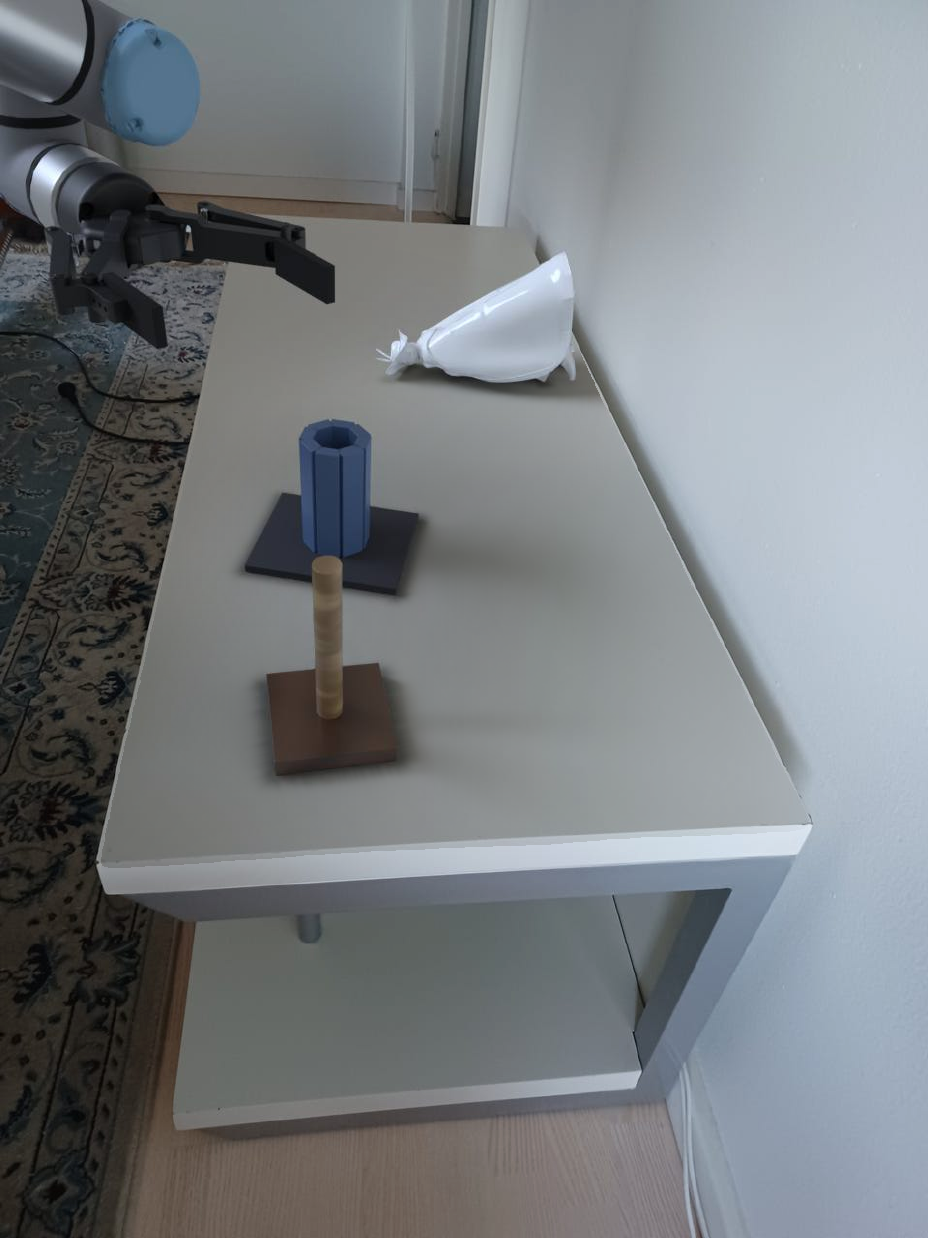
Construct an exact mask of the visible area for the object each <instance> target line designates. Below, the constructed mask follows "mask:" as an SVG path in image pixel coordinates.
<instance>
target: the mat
mask: <svg viewBox="0 0 928 1238" xmlns="http://www.w3.org/2000/svg"><path fill="white" fill-rule="evenodd" d="M419 517H420V513H419V512H411V511H405V510H398V509H392V508H386V507H379V506H372V505H370V533H369V539H368V541H367V544H366V547H365V549H362V551H361V552H358V553H355V554H352V555H350V556H347V557H344V558H343V557H342V556H341V555H340V558H338V559H339V560H340V561H341V562H342V584H343V588H348V589H355V590H361V591H366V592H372V593H380V594H386V595H393V596H396V595H397V591H398V588H399V584H400V581H401V578H402V574H403V572H404V568H405V565H406V562H407V558H408V555H409V552H410V548H411V547H412V546H411V545H412V543H413V538H414V535H415V532H416V529H417V526H418V522H419V519H420V518H419ZM320 556H323V555H318V552H316V553H314V552H313V551H312V550H311V549H310V548H309V547H308V546H307V545H306V544H305V543H304V542H303V531H302V506H301V494H294V493H288V492H281V494H280V496H279V498H278V500H277V502H276V504H275V506H274V508H273V510H272V512H271V513H270V515H269V517H268V519H267V521H266V523H265V524H264V527H263V529H262V531H261V532H260V535H259V536H258V538H257V541H256V542H255V544H254V546H253V548H252V550H251V552H250V554H249V556H248V558H247V560H246V561H245V563H244V571H245V572H248V573H254V574H259V575H266V576H272V577H279V578H285V579H292V580H298V581H303V582H311V583H312V563H313V561H314V560H315V559H316V558H318V557H320Z"/></svg>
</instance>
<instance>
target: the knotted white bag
mask: <svg viewBox="0 0 928 1238" xmlns="http://www.w3.org/2000/svg"><path fill="white" fill-rule="evenodd" d="M576 291H577V290H576V287H575V283H574V279H573V275H572V270H571V267H570V263H569V259H568V254H567V253H566V252H565V251H561V252H560V253H558V254H556V255H554V256H552V257H551V258H550V259H548V260H546V261H544V262H542V263H541V264H540V265H539V266H537V267H535V268H534V269H531V270H530V271H528V272H526V273H524V274H523V275H520V276H519V277H517V278H515V279H513V280H511V281H509V282H508V283H505V284H503V285H502V286H500V287H498V288H496V289H494V290H492V291H491V292H489V293H487V294H485V295H483V296H482V297H480V298H478V299H477V300H474V301H473V302H471V303H470V304H467V305H466V306H464V307H461V308H460V309H459V310H456V311H455V312H454V313H452V314H450V315H449V316H447V317H446V318H444V319H442V320H441V321H439V322H438V323H436V324H434V325H433V326H431V327H430V328H428V329H425V330H423V331H422V332H421V335H420V336H419V337H418V339H417V341H416V342H415V341H408V336H407V335H406V334H404V333H402V332H401V330H400V329H398V334H399V340H394V341H392V342H391V345H390V346H391V347H390V355H388V354H386V353H385V352H383V351H382V350H380V349H378V348H375V351H377V352H378V353H379V354H380V355H382V356H383V357H385V358H383V357H381V358H380V357H377V358H375V360H377V361H380V362H387V363H391V364H390V366H389V367H388V368H387V369H386V371H385V374H386V375H388V376H391V375H392V376H393V375H394V374H395V373H397V372H398V371H399V370H401V369H402V368H404V367H405V366H408V365H409V366H412V365H414V364H415V363H416V364H417V363H418V362H419V361H421V363H422V365H423V367H425V368H427V369H430V368H431V369H432V368H439V369H441V370H443V371H444V373H445V374H447V375H449V376H452V377H468V378H469V377H470V378H474V379H478V380H480V381H484V382H488V383H514V382H523V381H528V380H529V381H530V380H533V379H535V380H537V381H539V382H543V383H546V381H547V379H548V377H549V376H550V373H551V372H552V371H554V370H555V369H556V368H557V367H559V365H560V366H561V367H563V369H564V370H565V371H566V373H567V374H568V378H569V381H572V382H575V380H576V377H577V376H576V374H577V373H576V372H577V371H576V362H575V357H574V356H573V354H574V353H575V351H576V350H575V345H574V344H570V343H571V339H572V330H573V321H574V320H573V319H574V309H575V301H576V295H577V292H576Z"/></svg>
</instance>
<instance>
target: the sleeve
mask: <svg viewBox="0 0 928 1238" xmlns="http://www.w3.org/2000/svg"><path fill="white" fill-rule="evenodd" d="M371 435H372V434H371V433H370V432H369V431H367V430H366V429H365V428H364V427H363V426H362V425H361V424H359V423H356V422H355V421H349V420H344V419H343V420H342V419H335V418H332V419H331V420H330V419H328V418H327V419H323V420H319V421H316V422H312V423H309V424H307V426H304V428H303V429H302V432H301V433H300V435H299V437H298V452H299V453H298V455H299V477H300V479H299V480H300V495H301V506H302V531H303V542H304V543H305V544H306V545H307V546H308V547H309V548H310V549H311V550H312V551H313V552H314V553H316V552H318V555H323V556H325V555H329V556H334V557H337V558H340V555H341V556H342V557H343V558H344V557H347V556H350V555H352V554H355V553H358V552H361V551H362V549H365V547H366V544H367V541H368V539H369V533H370V506H371V485H372V484H371V483H372V482H371V479H372V439H373V437H372V436H371Z"/></svg>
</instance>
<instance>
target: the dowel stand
mask: <svg viewBox="0 0 928 1238" xmlns="http://www.w3.org/2000/svg"><path fill="white" fill-rule="evenodd" d="M311 583H312V610H313V611H312V612H313V641H314V643H313V644H314V668H311V669H302V670H293V671H292V670H291V671H283V672H282V671H281V672H271V673H266V674H265V679H266V691H267V701H268V712H269V721H270V722H269V723H270V731H271V732H270V734H271V743H272V753H273V763H274V774H275V775H276V776H281V775H289V774H297V773H305V772H312V771H320V770H328V769H336V768H345V767H353V766H361V765H369V764H376V763H384V762H391V761H397V760H398V751H399V747H398V746H399V745H398V742H397V739H396V738H397V737H396V734H395V728H394V724H393V720H392V715H391V711H390V707H389V702H388V697H387V693H386V689H385V685H384V679H383V675H382V671H381V667H380V662H373V663H372V662H371V663H363V664H352V665H344V633H343V631H344V627H343V626H344V619H343V616H344V613H343V608H344V607H343V604H344V603H343V600H344V599H343V597H344V596H343V595H344V594H343V593H344V592H343V591H344V589H343V588H344V587H343V584H342V562H341V561H340V560H339V559H338V558H337V557H334V556H329V555H325V556H320V557H318V558H316V559H315V560H314V561H313V563H312V582H311Z"/></svg>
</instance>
